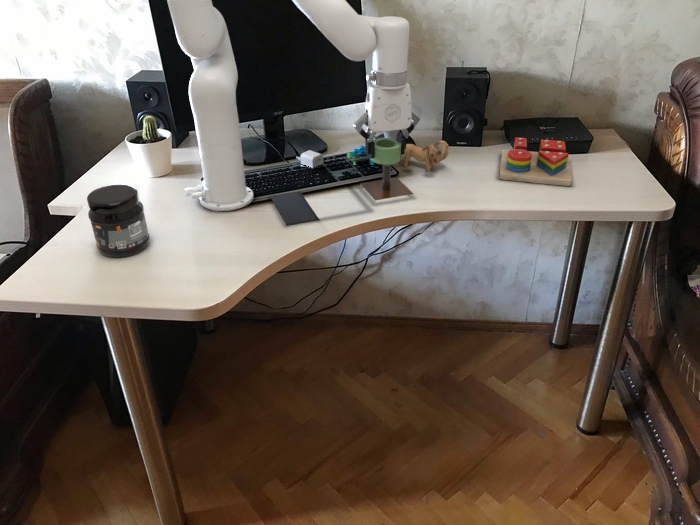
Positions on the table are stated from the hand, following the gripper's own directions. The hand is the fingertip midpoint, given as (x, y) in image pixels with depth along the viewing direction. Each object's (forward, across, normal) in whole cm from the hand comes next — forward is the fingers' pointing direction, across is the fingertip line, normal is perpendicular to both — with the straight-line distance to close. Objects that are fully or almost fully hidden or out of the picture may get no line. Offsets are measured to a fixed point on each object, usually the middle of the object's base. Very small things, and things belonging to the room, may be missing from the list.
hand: (385, 153), depth 139 cm
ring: (+1, 0, 0) cm, 1 cm away
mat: (+10, -16, 0) cm, 19 cm away
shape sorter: (+10, +43, -1) cm, 44 cm away
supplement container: (+11, -60, -4) cm, 62 cm away
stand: (+10, +1, 0) cm, 10 cm away
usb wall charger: (+11, -12, +22) cm, 27 cm away
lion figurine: (+10, +15, +9) cm, 20 cm away
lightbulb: (+10, +13, +25) cm, 30 cm away
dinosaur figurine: (+10, +3, +17) cm, 20 cm away
